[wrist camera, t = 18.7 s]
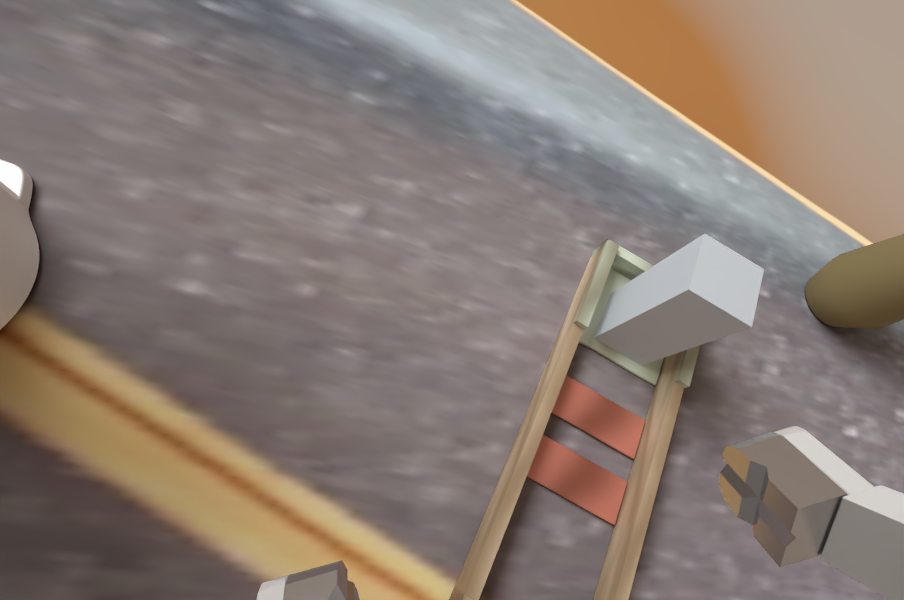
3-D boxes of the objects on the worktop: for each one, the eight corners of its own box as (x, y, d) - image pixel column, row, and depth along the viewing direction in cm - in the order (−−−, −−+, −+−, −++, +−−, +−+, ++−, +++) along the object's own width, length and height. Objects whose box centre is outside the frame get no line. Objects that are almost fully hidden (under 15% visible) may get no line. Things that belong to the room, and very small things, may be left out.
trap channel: (447, 601, 32) (459, 613, 30) (593, 250, 46) (610, 235, 43) (585, 676, 33) (610, 695, 30) (689, 307, 46) (713, 296, 43)
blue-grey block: (593, 337, 42) (688, 289, 31) (610, 293, 44) (704, 233, 33) (641, 365, 42) (751, 327, 31) (655, 320, 44) (763, 269, 33)
